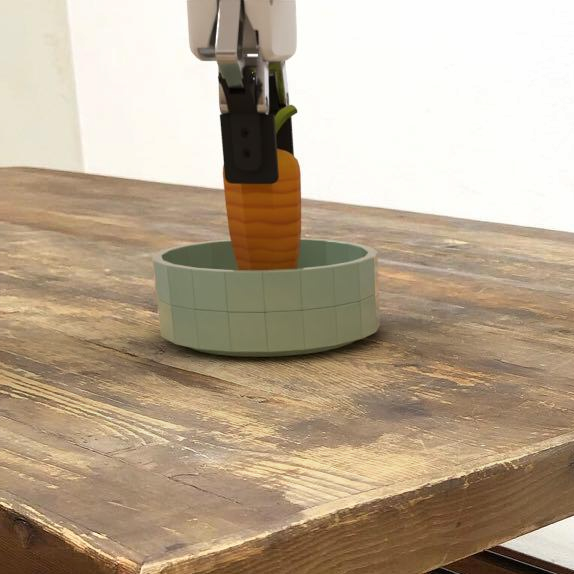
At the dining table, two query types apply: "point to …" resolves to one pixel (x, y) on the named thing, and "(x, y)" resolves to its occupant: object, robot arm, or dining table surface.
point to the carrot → (267, 214)
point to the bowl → (267, 299)
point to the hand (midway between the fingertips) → (261, 175)
